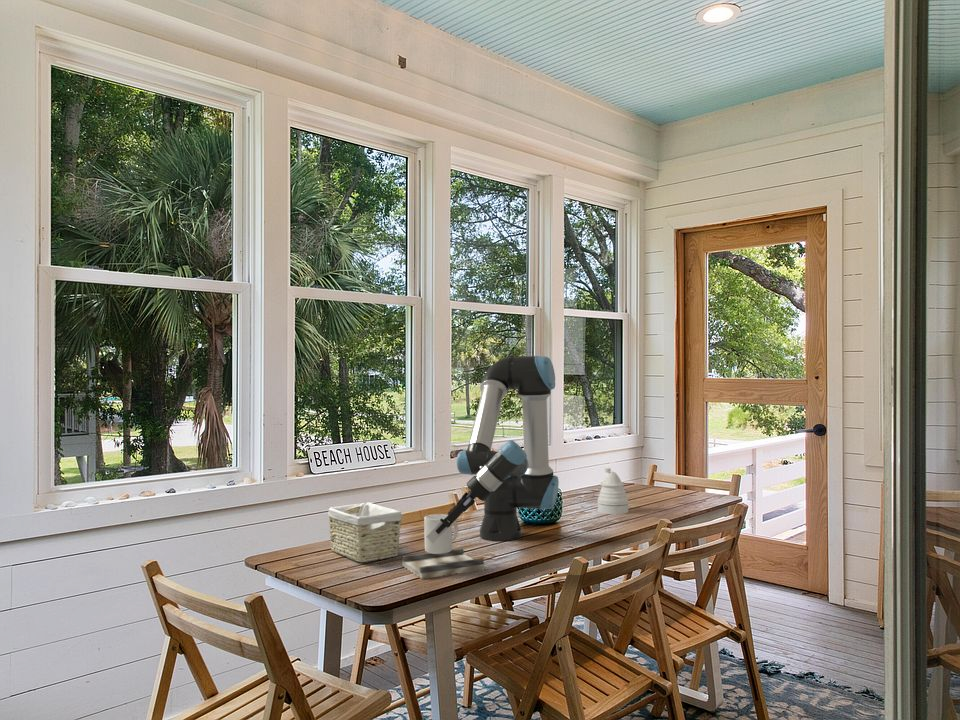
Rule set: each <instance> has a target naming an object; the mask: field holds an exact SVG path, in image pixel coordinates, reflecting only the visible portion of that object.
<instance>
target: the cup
mask: <svg viewBox="0 0 960 720" xmlns="http://www.w3.org/2000/svg"><path fill="white" fill-rule="evenodd" d="M447 516H448V514H447V515H446V514H443V513H441V514H434V513H433V514H429V515H425V516H424V517H423V518H424V519H423V521H424V524H423V526H424V529H423V530H424V534H423V535H424V551H425V553H431V554H443V553H448V552H450V551H451V550H452V549H453V542H454V541H455V540H456V539H457V537H458V532H459V528H458V522H457V519H456V520H455V521H454V522H453V523H452V524H451V525H450V527H448V528H447V529H446V530H445V531H444V532H443V533H442V534H441V535H440V536H439V537H438V538H437V539H436V540H435V541H434V542H433V543H432V542H431V541H430V540H429V539H428V538H427V537H426V536H427V535H428V534H429V533H430V532H431V531H432V530H433V529H434V528H435V527H436V526H437V525H438V524H439V523H440V522H441V521H440V519H441V518H442V519H445V518H446V517H447ZM447 521H448V520H447ZM448 522H449V521H448ZM449 523H450V522H449ZM453 528H454V529H453Z"/></svg>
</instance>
